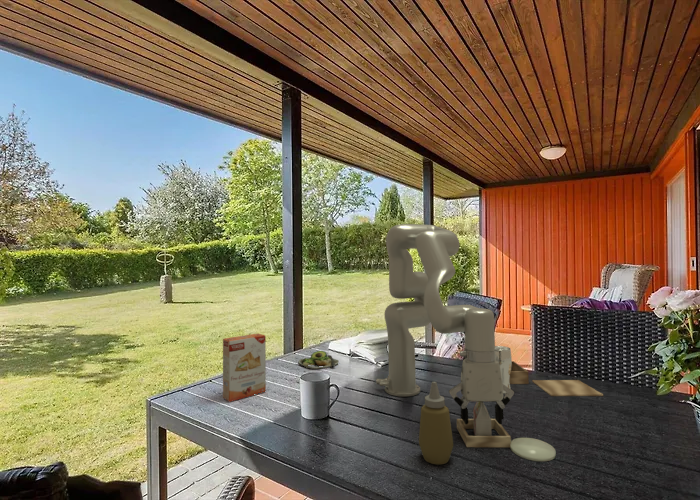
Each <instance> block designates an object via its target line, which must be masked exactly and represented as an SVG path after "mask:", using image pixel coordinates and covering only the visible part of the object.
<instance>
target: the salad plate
mask: <svg viewBox="0 0 700 500" xmlns="http://www.w3.org/2000/svg"><path fill="white" fill-rule="evenodd" d="M339 360H340V359H336V358H333V356H332V355H330V354H327V352H326V351H324V350H317V351H315V352H313V353H312V354H311V355H310V357H307V358H306V357H305V358H301V359H299V360H298V365H299V366H300V367H303V366H304V367H303V368H305V367H306V368H305V369H309V368H310V369H309V370H316V369H317V370H323V369H322V368H326V369H328V368H327V367H330V368H333V367H336V365H338V364H339V363H340V362H339ZM308 365H319V366H323V367H319V366H308ZM332 366H333V367H332Z"/></svg>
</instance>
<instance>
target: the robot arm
mask: <svg viewBox="0 0 700 500" xmlns="http://www.w3.org/2000/svg"><path fill="white" fill-rule="evenodd" d="M387 231H388V232H387V234H386V239H385V245H386V250H387V254H388V262H389V263H388V289H389V294H390V295H391V297H392V298H393V299H398V300H399V299H400V300H401V299H403V300H404V299H413V300H414V301H412V300H411V301H399V302H393V303H390V304H389V305H388V306H387V307H386V308H385V310H384V321H385V325H386V332H387V351H388V352H387V353H388V354H387V355H388V375H387V377H385V378H376V380H375V381H376V385H379V386H380V387H383V386H384V392H385V393H387V394H389V395H390V396H393V397H394V396H395V397H401V398H402V397H403V398H406V397H414V396H417V395H418V394H420V392H421V387H420V386H419V385H418V384H417V382H416V380H417V379H416V377H417V376H416V349H415V348H416V344H415V343H416V342H415V339H414V337H413V335H412V334H411V332H410V330H409V329H414V328H422V327H427V326H429V324H431V325H432V328H433V329H434V330H435V331H436V332H437V333H439V334H444V335H446V334H447V335H448V334H455V333H462V332H463V333H464V346H465V347H464V350H463V351H462V350H461V351H460V352H459V356H460V357H463V358H464V359H463V361H462V365H461V371H460V382H459V383H457V384H456V385H455V386H453V387H452V388H451V389H449V390H448V393H449V396H451V397H452V399H453V400H454V401H455V403H456V404H457V405H458V406H459V407H460V419H462V420H463V421H464V422H465V424H468V419H469V409H468V407H467V406H468V404H470V402H471V403H472V402H475V403H476V402H483V403H484V402H485V403H487V402H491V403H492V402H495V403H496V404H495V405H494V419H496V421H497V422H498V423H499V424H501V425H503V420H504V409H505V408H506V406H507V405H508V404H509V403H510V401H511V399H512V397H513V396H514V394H515V391H514V390H513V389H510V388H511V387H510V388H508V387H507V386H505V385H504V384H502V376H501V370H500V365H499V362H498V361H497V360H495V346H496V340H495V339H496V337H495V315H494V312H493V310H491V309H488V308H481V307H476V306H474V305H471V304H460V305H459V304H457V305H445V306H444V304H443V301H442V299H441V295H440V286H441V285H443V284H444V283H447V282H448V281H449V280H451V279H453V277H454V276H455V274H456V269H455V266H454V264H453V261H452V260H451V257H454V256H455V255H457V254H458V252H459V250H460V240H459V238H458V236H457V235H456V233H454V232H453V231H452V230H450V229H446V228H443V227H440V226H436V225H433V224H420V223H419V224H418V223H417V224H415V223H401V224H396V225H394V226H391V228H389V230H387ZM408 249H409V250H410V249H412V250H413V249H415V250H416V251H417V253H418V257H419V259H420V261H421V264H422V266H423V269H424V271H414V259H413V257H412V255H411V253H410V251H409V250H408ZM503 390H504V391H505V392H506V394H504V393H503ZM459 392H460V394H461V395H462V396H461V397H459V396H458V395H457V393H459Z"/></svg>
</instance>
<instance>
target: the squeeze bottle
mask: <svg viewBox="0 0 700 500" xmlns="http://www.w3.org/2000/svg"><path fill="white" fill-rule="evenodd" d="M439 390H440V389H439V386H438V382H437V381H432V382H431V384H430V389H429V394H428V395H425V396H424V404H423V405H422V406H421V408H420V418H419V419H420V421H419V433H418V434H419V435H418V445H419V448H420V450H421V453H422V457H423V458H424V460H425V461H426V462H427V463H428V464H429V463H430V464H432V465H444V464H447V463H449V460H450V457H451V454H452V451H453V448H454V438H453V432H452V424H451V417H450V416H451V415H450V410H449V407H447V406H446V404H445V403H446V401H445V397H444V396H443V395H440V391H439Z"/></svg>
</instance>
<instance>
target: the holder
mask: <svg viewBox="0 0 700 500" xmlns="http://www.w3.org/2000/svg"><path fill="white" fill-rule="evenodd" d="M490 419H491V430H495V431H496V433H497V434H498V435H492V436H475V435H469V434H468V432H467V431H466V430H474V421H473V418H468V424H465V422H464V421H463V420H462V419H461V418H456V429H457V431H458V432H459V434H460V437H461V439H462V440H463V443H464V444H465V447H466V448H510V444H511V441H512V437H511V435H510V434H509V433H508V431H506V429H505V427H503V424H499V423H498V422H497V421H496V419H495V418H490Z"/></svg>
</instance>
